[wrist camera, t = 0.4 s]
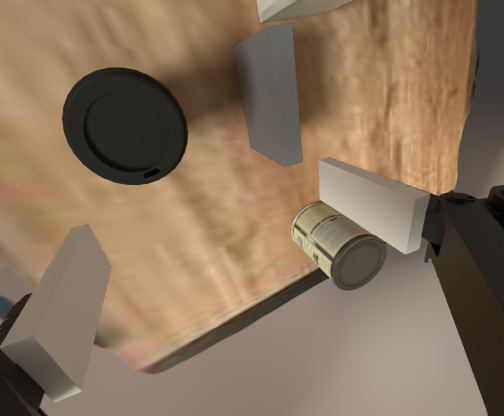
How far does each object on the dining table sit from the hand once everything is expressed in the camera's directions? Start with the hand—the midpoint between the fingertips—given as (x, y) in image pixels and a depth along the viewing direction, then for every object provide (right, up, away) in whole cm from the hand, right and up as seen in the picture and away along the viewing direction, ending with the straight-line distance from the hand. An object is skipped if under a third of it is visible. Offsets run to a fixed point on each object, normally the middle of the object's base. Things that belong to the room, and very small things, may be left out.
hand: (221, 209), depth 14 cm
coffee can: (+14, -3, +37) cm, 40 cm away
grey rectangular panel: (+2, +16, +23) cm, 28 cm away
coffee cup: (-13, +12, +19) cm, 26 cm away
